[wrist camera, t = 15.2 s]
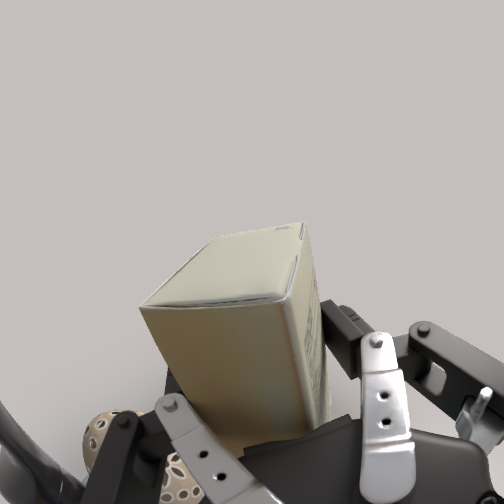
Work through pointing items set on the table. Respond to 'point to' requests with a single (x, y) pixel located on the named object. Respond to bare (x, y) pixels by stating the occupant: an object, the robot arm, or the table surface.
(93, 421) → the ornament
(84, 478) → the table surface
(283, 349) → the cosmetic box
